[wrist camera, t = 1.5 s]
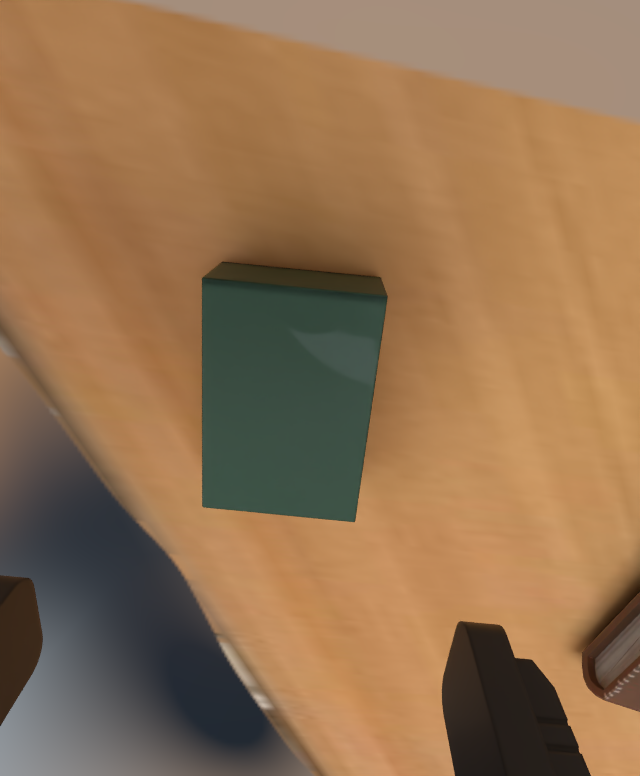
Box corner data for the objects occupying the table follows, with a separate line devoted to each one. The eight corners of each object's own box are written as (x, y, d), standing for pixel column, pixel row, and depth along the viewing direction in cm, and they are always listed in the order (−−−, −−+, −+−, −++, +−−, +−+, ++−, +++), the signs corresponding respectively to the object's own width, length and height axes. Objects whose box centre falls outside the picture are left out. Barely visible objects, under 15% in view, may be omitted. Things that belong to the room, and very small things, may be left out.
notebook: (221, 261, 19) (201, 277, 16) (381, 277, 19) (387, 295, 16) (218, 466, 23) (201, 507, 20) (353, 479, 23) (355, 522, 20)
